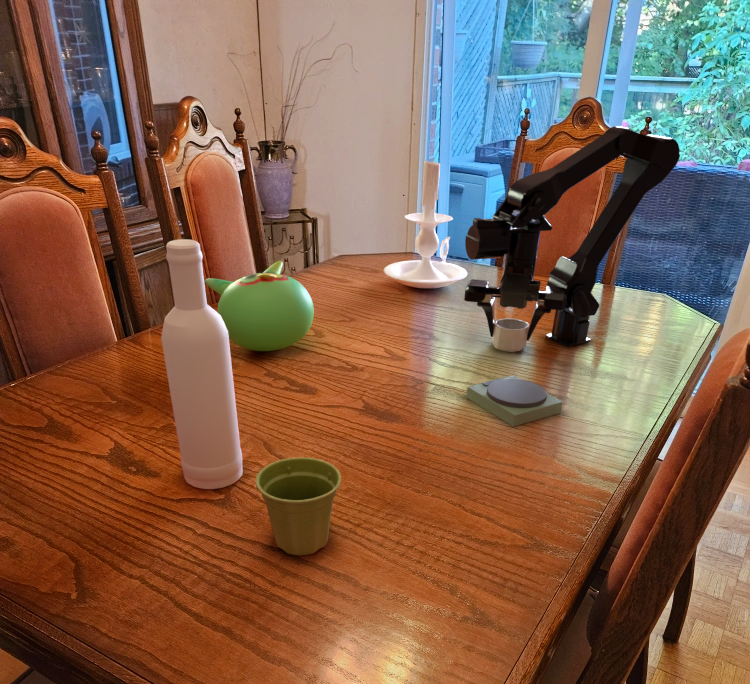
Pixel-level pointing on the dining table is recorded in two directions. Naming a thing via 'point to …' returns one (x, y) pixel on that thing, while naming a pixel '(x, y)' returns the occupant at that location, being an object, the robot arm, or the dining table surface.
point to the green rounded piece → (264, 309)
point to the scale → (514, 400)
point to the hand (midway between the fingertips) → (509, 338)
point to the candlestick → (427, 242)
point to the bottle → (200, 375)
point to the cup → (510, 334)
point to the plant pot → (299, 501)
